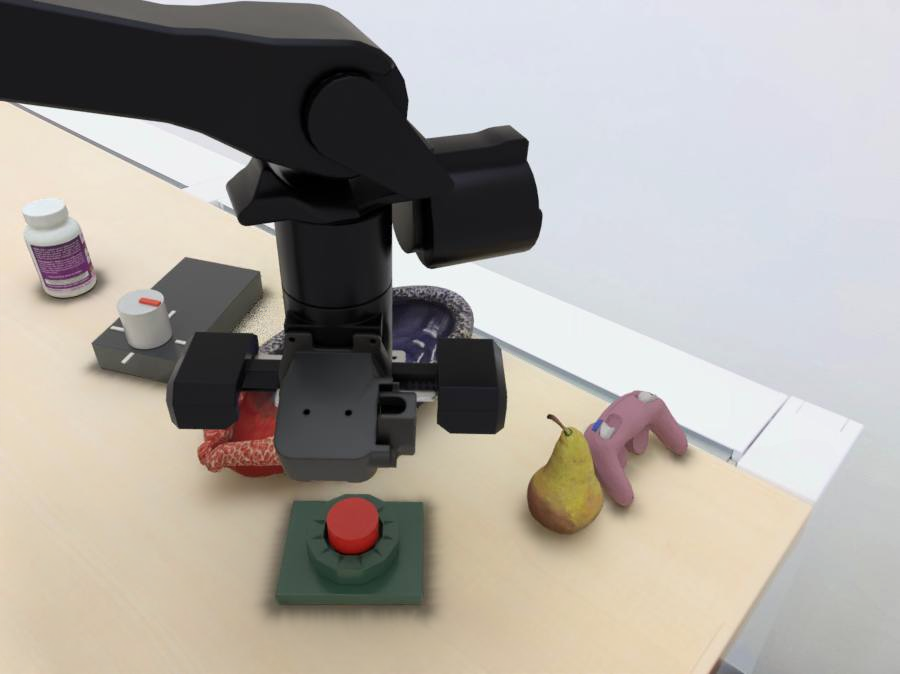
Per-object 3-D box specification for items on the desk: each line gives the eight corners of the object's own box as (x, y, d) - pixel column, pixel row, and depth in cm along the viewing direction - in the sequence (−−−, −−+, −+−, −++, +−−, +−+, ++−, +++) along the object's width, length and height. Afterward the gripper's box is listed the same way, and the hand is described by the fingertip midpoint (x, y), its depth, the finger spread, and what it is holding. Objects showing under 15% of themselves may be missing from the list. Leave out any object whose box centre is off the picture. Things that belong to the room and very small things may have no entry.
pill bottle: (108, 282, 77) (84, 204, 71) (64, 305, 73) (35, 224, 67) (77, 267, 79) (51, 189, 73) (33, 288, 75) (2, 208, 69)
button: (325, 554, 48) (323, 539, 47) (331, 512, 51) (329, 496, 50) (377, 555, 48) (377, 539, 47) (380, 512, 51) (379, 497, 50)
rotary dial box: (175, 398, 63) (168, 372, 61) (88, 378, 64) (78, 352, 62) (263, 293, 76) (260, 269, 74) (190, 279, 78) (184, 255, 76)
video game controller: (648, 441, 64) (634, 373, 61) (693, 451, 60) (680, 379, 58) (584, 499, 58) (565, 427, 56) (630, 514, 54) (612, 437, 52)
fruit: (585, 559, 52) (617, 450, 44) (513, 532, 53) (532, 421, 46) (603, 505, 56) (635, 396, 48) (535, 481, 57) (556, 372, 50)
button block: (277, 604, 48) (272, 579, 46) (294, 509, 54) (291, 484, 52) (422, 604, 48) (423, 580, 46) (422, 511, 54) (423, 486, 52)
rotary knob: (118, 344, 64) (106, 306, 61) (143, 319, 67) (133, 282, 64) (157, 353, 63) (146, 315, 60) (180, 327, 66) (172, 290, 63)
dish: (514, 357, 70) (519, 317, 67) (261, 544, 51) (252, 501, 48) (405, 294, 78) (406, 256, 75) (151, 436, 59) (138, 393, 56)
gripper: (94, 376, 29) (168, 585, 39) (534, 385, 30) (499, 587, 40) (171, 241, 38) (216, 439, 47) (510, 252, 39) (486, 443, 48)
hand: (348, 475), depth 45 cm, fingers closed
